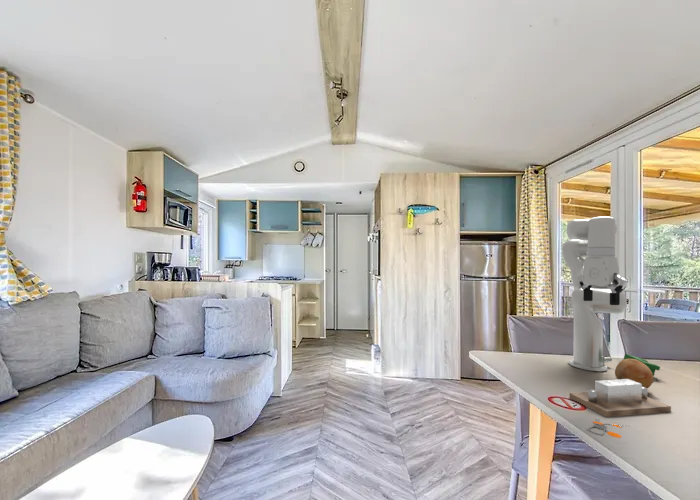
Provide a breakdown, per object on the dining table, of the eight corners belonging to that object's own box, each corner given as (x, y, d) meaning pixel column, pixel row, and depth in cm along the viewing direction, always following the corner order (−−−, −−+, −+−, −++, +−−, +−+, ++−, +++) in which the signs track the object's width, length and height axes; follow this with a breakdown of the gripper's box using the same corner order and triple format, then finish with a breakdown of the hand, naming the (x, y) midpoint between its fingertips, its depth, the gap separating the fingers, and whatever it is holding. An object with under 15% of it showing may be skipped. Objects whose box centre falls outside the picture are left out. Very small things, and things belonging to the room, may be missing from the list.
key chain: (617, 443, 77) (617, 439, 77) (581, 429, 83) (581, 426, 83) (633, 428, 85) (633, 424, 85) (599, 416, 91) (599, 413, 91)
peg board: (628, 393, 106) (628, 379, 106) (670, 411, 94) (670, 395, 94) (569, 397, 101) (569, 383, 102) (606, 416, 90) (606, 400, 90)
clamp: (651, 389, 122) (665, 371, 118) (633, 383, 123) (646, 365, 119) (635, 367, 132) (647, 349, 128) (619, 362, 133) (630, 345, 130)
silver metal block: (595, 397, 99) (595, 380, 99) (627, 395, 101) (627, 378, 101) (607, 403, 95) (607, 386, 95) (641, 400, 97) (641, 383, 97)
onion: (661, 394, 106) (661, 363, 106) (638, 396, 104) (638, 364, 104) (629, 382, 116) (629, 354, 116) (607, 384, 113) (607, 355, 113)
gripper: (570, 252, 120) (570, 299, 120) (616, 252, 103) (616, 307, 103) (587, 253, 122) (587, 299, 122) (636, 253, 105) (636, 306, 105)
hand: (600, 302), depth 112 cm, fingers open, 9 cm apart
